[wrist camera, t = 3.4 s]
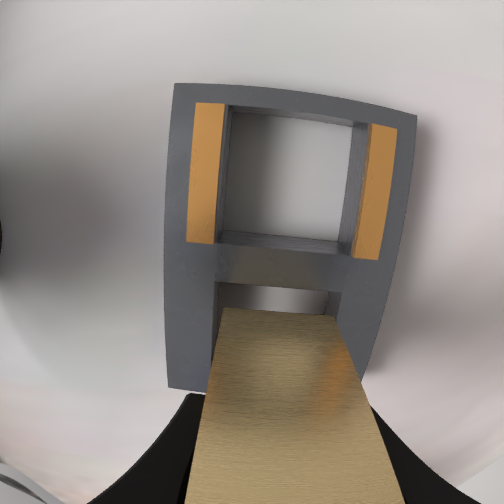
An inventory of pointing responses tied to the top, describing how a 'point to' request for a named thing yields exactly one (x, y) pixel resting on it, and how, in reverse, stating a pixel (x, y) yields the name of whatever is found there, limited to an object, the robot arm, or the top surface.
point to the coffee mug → (0, 237)
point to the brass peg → (287, 418)
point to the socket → (271, 246)
